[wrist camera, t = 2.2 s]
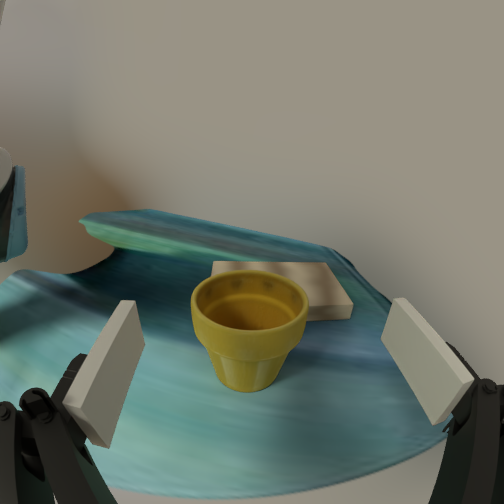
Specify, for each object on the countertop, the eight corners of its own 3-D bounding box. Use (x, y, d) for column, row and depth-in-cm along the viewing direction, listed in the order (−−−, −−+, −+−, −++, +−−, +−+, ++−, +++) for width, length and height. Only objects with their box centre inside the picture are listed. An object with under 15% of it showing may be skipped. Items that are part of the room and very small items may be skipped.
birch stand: (206, 321, 35) (206, 305, 35) (214, 273, 48) (213, 261, 47) (349, 318, 37) (353, 304, 36) (323, 274, 50) (325, 262, 49)
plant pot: (277, 421, 21) (292, 346, 18) (180, 385, 25) (166, 308, 21) (304, 353, 30) (318, 280, 27) (225, 331, 34) (224, 261, 30)
